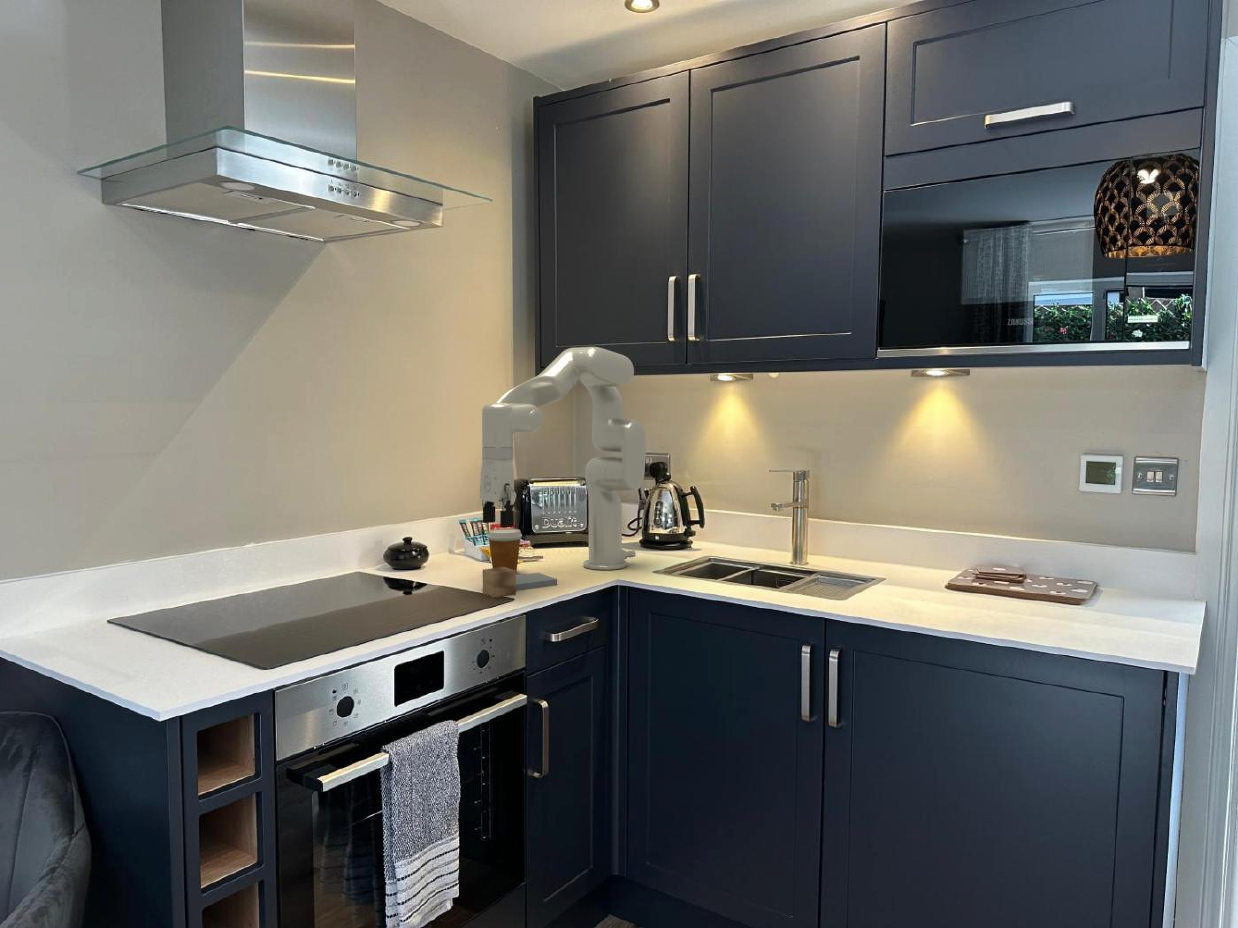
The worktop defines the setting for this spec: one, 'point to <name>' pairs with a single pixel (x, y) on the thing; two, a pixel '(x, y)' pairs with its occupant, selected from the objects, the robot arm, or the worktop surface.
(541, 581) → the slate board
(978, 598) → the worktop surface
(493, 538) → the disposable coffee cup
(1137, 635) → the worktop surface
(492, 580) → the walnut cube
